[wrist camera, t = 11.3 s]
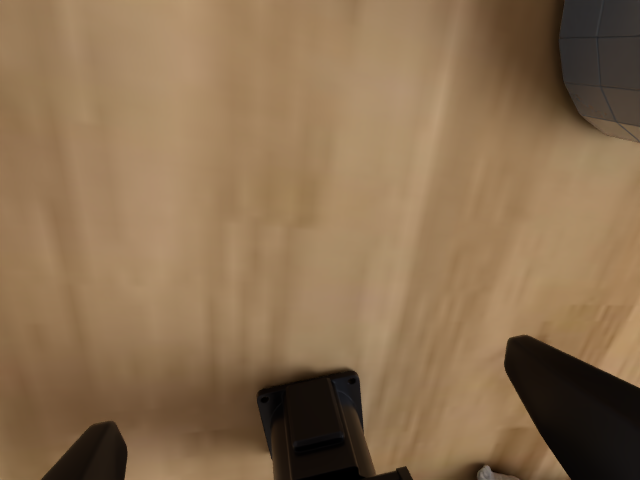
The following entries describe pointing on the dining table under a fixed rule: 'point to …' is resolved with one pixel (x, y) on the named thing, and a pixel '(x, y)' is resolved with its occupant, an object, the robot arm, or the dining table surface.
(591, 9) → the dish
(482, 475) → the seashell
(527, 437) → the dining table surface
